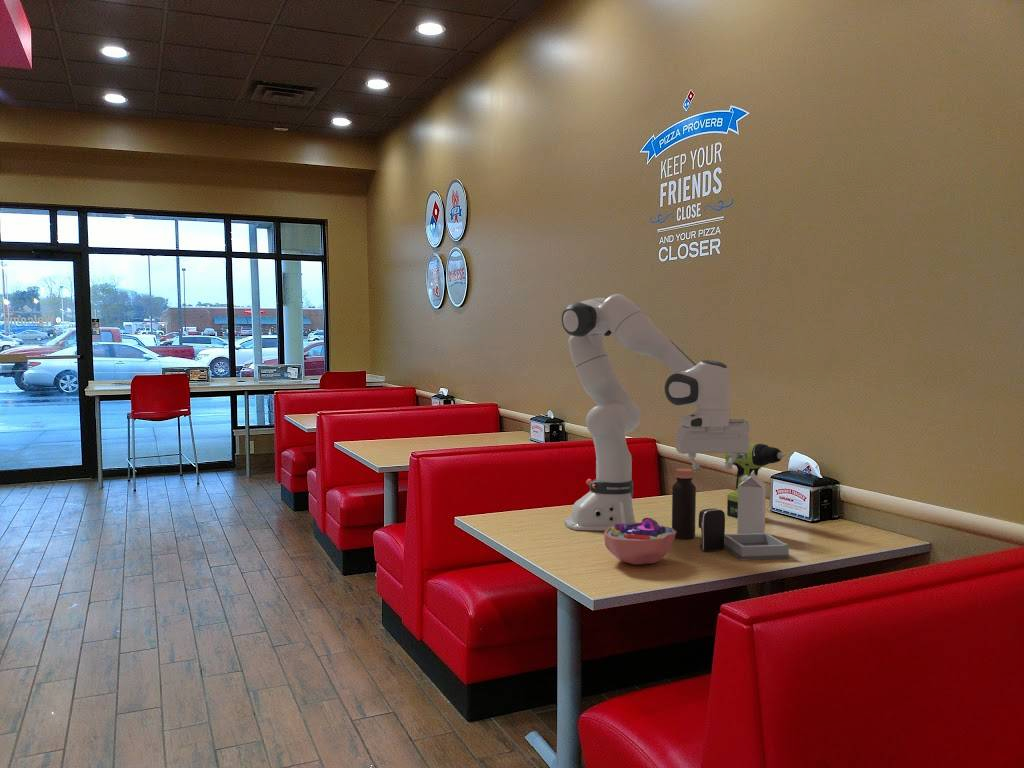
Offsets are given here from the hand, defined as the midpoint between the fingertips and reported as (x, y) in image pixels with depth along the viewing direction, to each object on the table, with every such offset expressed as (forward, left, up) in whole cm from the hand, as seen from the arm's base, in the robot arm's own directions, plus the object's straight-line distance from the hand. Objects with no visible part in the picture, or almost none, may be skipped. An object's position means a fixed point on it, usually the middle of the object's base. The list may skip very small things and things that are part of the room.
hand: (712, 469), depth 208 cm
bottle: (-3, +14, -23) cm, 27 cm away
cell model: (-23, -9, -23) cm, 34 cm away
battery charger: (0, 0, -23) cm, 23 cm away
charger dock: (+11, -4, -23) cm, 25 cm away
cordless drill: (+27, +31, -23) cm, 47 cm away
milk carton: (+18, +14, -23) cm, 32 cm away
